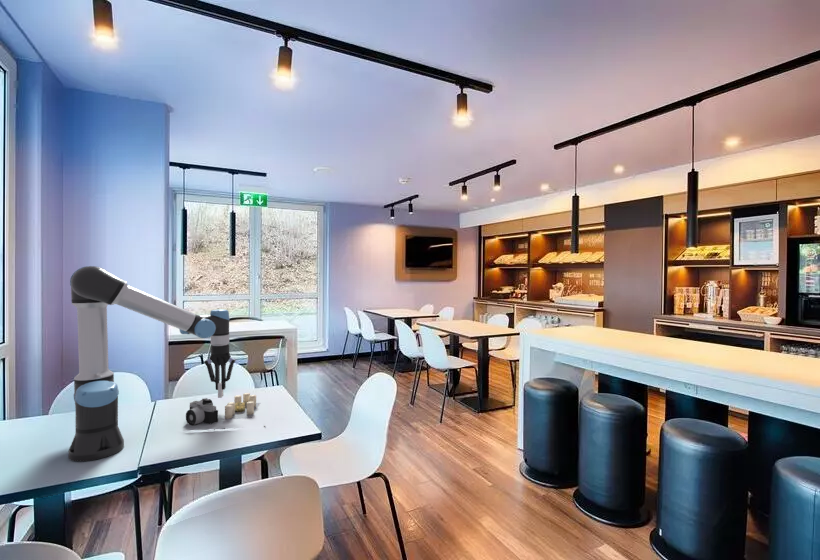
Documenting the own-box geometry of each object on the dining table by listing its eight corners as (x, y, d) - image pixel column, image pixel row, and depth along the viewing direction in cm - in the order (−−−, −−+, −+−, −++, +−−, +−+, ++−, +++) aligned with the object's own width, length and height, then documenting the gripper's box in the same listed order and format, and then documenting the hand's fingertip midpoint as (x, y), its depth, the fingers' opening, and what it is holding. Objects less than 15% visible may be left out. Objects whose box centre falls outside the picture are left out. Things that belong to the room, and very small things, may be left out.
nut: (243, 412, 177) (243, 405, 177) (233, 412, 176) (233, 405, 176) (246, 408, 181) (246, 402, 181) (235, 409, 180) (235, 402, 180)
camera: (177, 423, 165) (177, 399, 165) (197, 417, 173) (197, 394, 173) (201, 430, 158) (201, 405, 158) (221, 423, 166) (221, 399, 166)
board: (251, 420, 170) (251, 406, 170) (221, 421, 168) (221, 407, 168) (260, 404, 189) (260, 392, 189) (233, 406, 187) (233, 393, 187)
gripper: (237, 342, 181) (238, 393, 182) (207, 343, 179) (207, 395, 180) (233, 345, 174) (233, 398, 175) (201, 346, 172) (202, 400, 172)
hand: (220, 396), depth 177 cm, fingers closed
